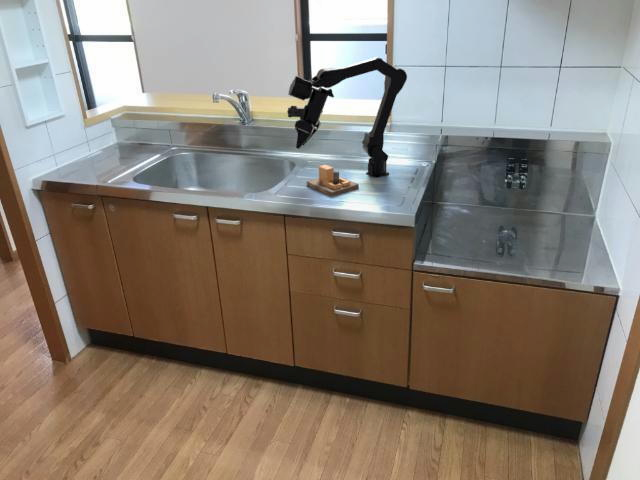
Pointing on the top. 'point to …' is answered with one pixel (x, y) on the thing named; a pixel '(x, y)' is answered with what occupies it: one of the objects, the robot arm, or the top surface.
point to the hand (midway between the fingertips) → (299, 146)
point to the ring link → (330, 177)
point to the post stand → (327, 190)
